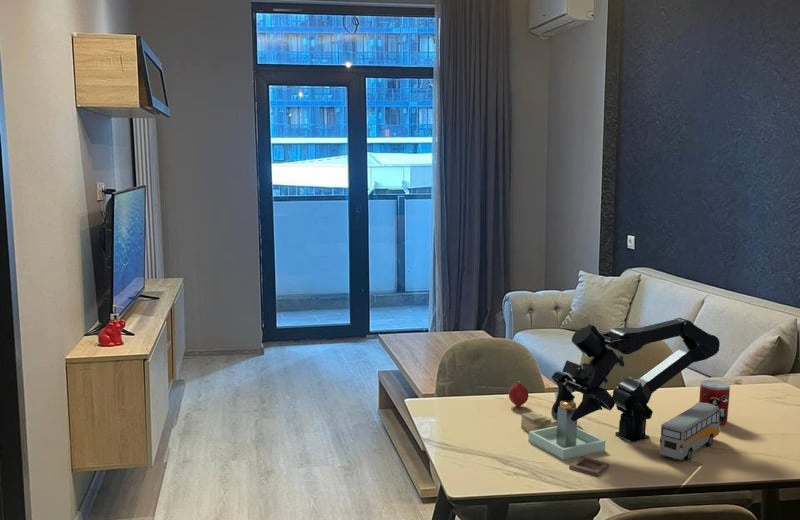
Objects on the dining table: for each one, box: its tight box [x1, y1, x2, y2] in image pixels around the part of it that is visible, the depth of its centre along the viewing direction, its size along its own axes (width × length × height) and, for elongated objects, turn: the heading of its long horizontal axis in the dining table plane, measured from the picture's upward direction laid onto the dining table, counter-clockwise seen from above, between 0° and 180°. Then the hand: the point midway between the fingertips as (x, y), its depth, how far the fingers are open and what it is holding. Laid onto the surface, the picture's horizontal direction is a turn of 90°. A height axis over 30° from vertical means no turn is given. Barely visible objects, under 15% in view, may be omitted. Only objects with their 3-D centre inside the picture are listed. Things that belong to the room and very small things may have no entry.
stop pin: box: [556, 400, 578, 448], centre depth 185 cm, size 4×4×11 cm
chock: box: [520, 411, 557, 432], centre depth 199 cm, size 8×5×4 cm, turn 117°
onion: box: [508, 380, 529, 408], centre depth 216 cm, size 6×6×8 cm
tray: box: [528, 426, 606, 461], centre depth 186 cm, size 14×14×3 cm
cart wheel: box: [551, 391, 576, 421], centre depth 203 cm, size 7×5×8 cm
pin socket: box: [568, 456, 610, 478], centre depth 172 cm, size 7×7×1 cm
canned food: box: [698, 379, 731, 426], centre depth 206 cm, size 8×8×11 cm
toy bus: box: [659, 401, 724, 462], centre depth 185 cm, size 7×26×10 cm, turn 136°
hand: (563, 416), depth 184 cm, fingers open, 6 cm apart
